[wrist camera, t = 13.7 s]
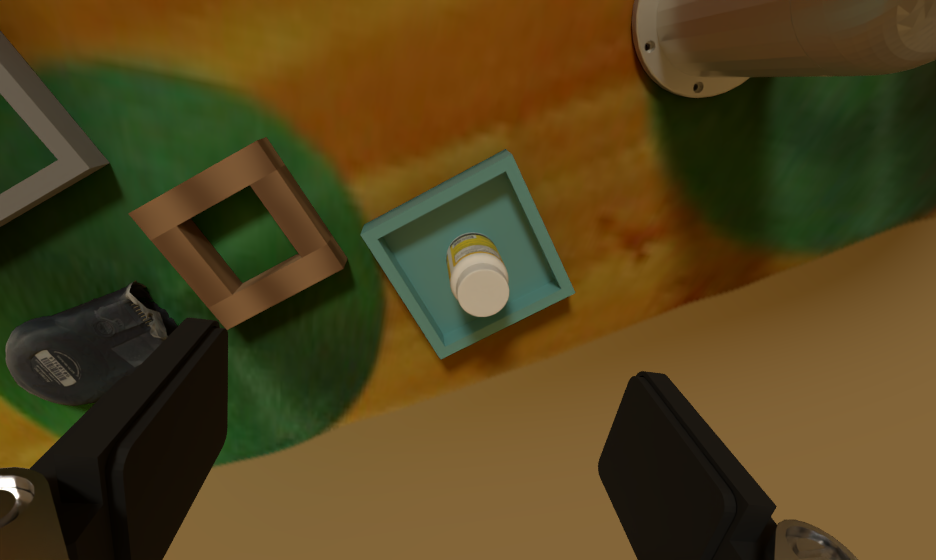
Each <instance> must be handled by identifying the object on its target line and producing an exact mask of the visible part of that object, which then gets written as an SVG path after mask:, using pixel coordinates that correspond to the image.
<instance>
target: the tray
mask: <svg viewBox="0 0 936 560" xmlns="http://www.w3.org/2000/svg"><path fill="white" fill-rule="evenodd" d="M471 232H474V233H480V234H483V235H485V236H487V237H488V238H489V239H491V240H492V242H493V243H494V245H495V246H496V248H497V250H498V252H499V255H500V257H501V259H502V261H503V263H504V265H505V267H506V269H507V272H508V279H509V280H508V286H509V298H508V301H507V303H506V304H505V306H504V307H503V308H502V309H501V310H500V311H499V312H497V313H496V314H494V315H491V316H487V317H477V316H473V315H471V314H469V313H467V312H466V311H465V310H464V309H463V308H462V307H461V306H460V304H459V301H458V300H457V299H456V298H455V296H454V295H453V293H452V291H451V287H450V280H449V274H448V269H447V263H446V254H447V250H448V248H449V246H450V244H451V243H452V241H453V240H454V239H456V238H457V237H458V236H460V235H462V234H465V233H471ZM361 236H362V238H363V239H364V241H365V242H366V244H367V246H368V247H369V249H370V250H371V252H372V253H373V255H374V256H375V258H376V260H377V261H378V263H379V264H380V266H381V267H382V269H383V271H384V272H385V274H386V275H387V277H388V278H389V280H390V281H391V283H392V285H393V286H394V288H395V289H396V291H397V292H398V294H399V295H400V297H401V299H402V300H403V302H404V303H405V305H406V306H407V308H408V310H409V311H410V313H411V314H412V316H413V317H414V319H415V320H416V322H417V324H418V325H419V327H420V328H421V330H422V331H423V333H424V334H425V336H426V338H427V339H428V341H429V342H430V344H431V345H432V347H433V349H434V350H435V352H436V353H437V355H438V356H439V358H440V359H443V358H445V357H447V356H449V355H451V354H453V353H455V352H457V351H459V350H461V349H463V348H465V347H467V346H469V345H471V344H473V343H475V342H477V341H479V340H481V339H483V338H485V337H487V336H489V335H491V334H493V333H495V332H497V331H499V330H501V329H503V328H505V327H508V326H510V325H512V324H514V323H516V322H518V321H520V320H522V319H524V318H526V317H528V316H530V315H532V314H534V313H536V312H538V311H540V310H542V309H544V308H546V307H548V306H550V305H552V304H554V303H556V302H558V301H560V300H562V299H564V298H566V297H568V296H570V295H572V294H574V293H575V291H574V289H573V287H572V284H571V282H570V280H569V278H568V276H567V273H566V271H565V269H564V267H563V265H562V263H561V260H560V258H559V256H558V254H557V252H556V249H555V247H554V245H553V243H552V241H551V239H550V236H549V234H548V232H547V230H546V228H545V226H544V223H543V221H542V219H541V217H540V215H539V212H538V210H537V208H536V206H535V204H534V202H533V199H532V197H531V195H530V193H529V191H528V188H527V186H526V184H525V182H524V180H523V178H522V175H521V173H520V171H519V169H518V167H517V164H516V162H515V160H514V158H513V156H512V154H511V153H510V152H508V151H507V150H506V149H505V150H503V151H501V152H499V153H497V154H496V155H494V156H492V157H490V158H488V159H486V160H484V161H482V162H481V163H479V164H477V165H475V166H473V167H471V168H469V169H467V170H466V171H464V172H462V173H460V174H458V175H456V176H454V177H453V178H451V179H449V180H447V181H445V182H443V183H441V184H439V185H438V186H436V187H434V188H432V189H430V190H428V191H426V192H424V193H423V194H421V195H419V196H417V197H415V198H413V199H411V200H409V201H408V202H406V203H404V204H402V205H400V206H398V207H396V208H395V209H393V210H391V211H389V212H387V213H385V214H383V215H381V216H380V217H378V218H376V219H374V220H372V221H370V222H368V223H366V224H365V225H364V227H363V230H362V232H361Z"/></svg>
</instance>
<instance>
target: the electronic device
mask: <svg viewBox="0 0 936 560" xmlns="http://www.w3.org/2000/svg"><path fill="white" fill-rule="evenodd" d="M145 287H146V286H144V285H143V284H140V283H137V281H134V282H133V283H131V284H129V285H128V286H127V287H125V288H122V289H120V290H118V291H116V292H113V293H111V294H107V295H105V296H103V297H100V298H97V299H93V300H91V301H89V302H87V303H84V304H81V305H79V306H76V307H74V308H71V309H68V310H66V311H63V312H60V313H58V314H55V315H53V316H47V317H41V318H35V319H32V320H29V321H27V322H25V323H23V324H22V325H20V326H18V327H16V328H15V330H13V331H12V333H11V335H10V338H9V340H8V342H7V344H6V364H7V366H8V368H9V371H10V373H11V375H12V376H13V378H14V379H15V381H16V383H17V384H18V385H19V386H21V387H22V388H23V389H25V390H26V391H28V392H29V393H31V394H34V395H36V396H38V397H40V398H42V399H44V400H48V401H51V402H54V403H58V404H63V405H72V406H75V405H82V404H88V403H94V402H97V401H98V400H99V399H100V398H101V397H102V396H103V395H104V394H105V393H106V392H107V391H108V390H109V389H110V388H111V387H112V386H113V385H114V384H115V383H116V382H117V381H118V380H119V379H121V378H122V377H123V376H126V375H131V374H132V373H133V372H134V371H135V370H136V369H137V368H138V367H139V366H140V365H141V364H142V363H143V362H144V361H145V360H146V359H147V358H148V357H149V356H150V355H151V354H152V353H153V352H154V351H155V350H156V348H157V347H158V346H159V345H160V344H161V343H162V342H163V341H164V340H165V339H166V338H167V337H168V336H169V335H170V334H171V333H172V332H173V331H174V330H175V329H176V328H177V327H178V326H177V325H176V323H175V321H174V319H172V318H169V315H168V313H167V311H166V310H165V309H161V308H160V307H159V306H158V305H157V304H156V303H155V302H149V301H148V300H147V299H146V298H148V299H151V300H152V298H151V297H150V295H149V293H148V292H146V291H145V290H144V289H143V288H145ZM143 297H146V298H145V301H144V302H146V303H140V302H139V301H138V300H137V298H143Z"/></svg>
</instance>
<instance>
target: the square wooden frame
mask: <svg viewBox="0 0 936 560" xmlns="http://www.w3.org/2000/svg"><path fill="white" fill-rule="evenodd" d="M249 185H250V186H251V187H252V189H253V190H254V192H255V193H256V194H257V196H258V197H259V199H260V200H261V201H262V203H263V204H264V206H265V207H266V208H267V210H268V211H269V213H270V214H271V215H272V217H273V218H274V220H275V221H276V222H277V224H278V225H279V227H280V228H281V229H282V231H283V232H284V234H285V235H286V236H287V238H288V239H289V241H290V242H291V243H292V245H293V246H294V248H295V249H296V250H297V252H298V254H297V255H295V256H293V257H291V258H289V259H287V260H285V261H284V262H282V263H280V264H278V265H276V266H274V267H272V268H271V269H269V270H267V271H265V272H263V273H261V274H259V275H257V276H256V277H254V278H252V279H250V280H248V281H246V282H244V283H243V284H242V282H241V281H240V280H239V279H238V277H237V276H236V275H235V274H234V272H233V271H232V270H231V269H230V267H229V266H228V265H227V263H226V262H225V261H224V260H223V258H222V257H221V256H220V255H219V253H218V252H217V251H216V250H215V248H214V247H213V246H212V245H211V243H210V242H209V241H208V240H207V238H206V237H205V236H204V234H203V233H202V232H201V231H200V229H199V228H198V227H197V226H196V224H195V223H194V222H193V221H192V219H191V218H192V217H193V216H195V215H197V214H199V213H201V212H202V211H204V210H206V209H208V208H210V207H211V206H213V205H215V204H217V203H218V202H220V201H222V200H224V199H226V198H227V197H229V196H231V195H233V194H235V193H236V192H238V191H240V190H242V189H243V188H245V187H247V186H249ZM129 215H130V216H131V217H132V219H133V220H134V221H135V222H136V223H137V224H138V226H139V227H140V228H141V229H142V230H143V232H144V233H145V234H146V235H147V236H148V237H149V239H150V240H151V241H152V242H153V243H154V245H155V246H156V247H157V248H158V249H159V250H160V252H161V253H162V254H163V255H164V256H165V257H166V259H167V260H168V261H169V262H170V263H171V265H172V266H173V267H174V268H175V269H176V270H177V272H178V273H179V274H180V275H181V276H182V278H183V279H184V280H185V281H186V282H187V283H188V285H189V286H190V287H191V288H192V289H193V290H194V292H195V293H196V294H197V295H198V296H199V298H200V299H201V300H202V301H203V302H204V303H205V305H206V306H207V307H208V308H209V309H210V311H211V312H212V313H213V314H214V315H215V316H216V318H217V319H218V320H219V321H220V322H221V323H222V325H223V326H224V327H225V328H226V329H227V330H228V329H230V328H232V327H234V326H235V325H237V324H239V323H241V322H243V321H245V320H247V319H249V318H251V317H253V316H254V315H256V314H258V313H260V312H262V311H264V310H266V309H268V308H270V307H272V306H273V305H275V304H277V303H279V302H281V301H283V300H285V299H287V298H289V297H291V296H292V295H294V294H296V293H298V292H300V291H302V290H304V289H306V288H308V287H310V286H311V285H313V284H315V283H317V282H319V281H321V280H323V279H325V278H327V277H329V276H330V275H332V274H334V273H336V272H338V271H340V270H342V269H344V266H345V264H346V261H347V259H348V258H347V257H346V255H345V254H344V252H343V251H342V249H341V248H340V246H339V245H338V243H337V242H336V240H335V239H334V237H333V236H332V234H331V233H330V231H329V230H328V228H327V227H326V226H325V224H324V223H323V221H322V220H321V218H320V217H319V215H318V214H317V212H316V211H315V209H314V208H313V206H312V205H311V203H310V202H309V200H308V199H307V197H306V196H305V194H304V193H303V191H302V190H301V188H300V187H299V185H298V184H297V182H296V181H295V179H294V178H293V176H292V175H291V173H290V172H289V170H288V169H287V167H286V166H285V164H284V163H283V161H282V160H281V158H280V157H279V155H278V154H277V152H276V151H275V149H274V148H273V146H272V145H271V143H270V142H269V140H268V139H267V137H265V138H263V139H260V140H257V141H255V142H254V143H252V144H250V145H248V146H247V147H245V148H243V149H241V150H240V151H238V152H236V153H234V154H233V155H231V156H229V157H227V158H225V159H224V160H222V161H220V162H218V163H217V164H215V165H213V166H211V167H210V168H208V169H206V170H204V171H203V172H201V173H199V174H197V175H196V176H194V177H192V178H190V179H189V180H187V181H185V182H183V183H182V184H180V185H178V186H176V187H175V188H173V189H171V190H169V191H168V192H166V193H164V194H162V195H160V196H159V197H157V198H155V199H153V200H152V201H150V202H148V203H146V204H145V205H143V206H141V207H139V208H138V209H136V210H134V211H132V212H131V213H129Z"/></svg>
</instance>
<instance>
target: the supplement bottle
mask: <svg viewBox="0 0 936 560" xmlns="http://www.w3.org/2000/svg"><path fill="white" fill-rule="evenodd" d="M446 263H447V269H448V274H449V280H450V287H451V291H452V293H453V295H454V296H455V298H456V299H457V300H458V301H459V304H460V306H461V307H462V308H463V309H464V310H465V311H466V312H467V313H469V314H471V315H473V316H477V317H487V316H491V315H494V314H496V313H497V312H499V311H500V310H501V309H502V308H503V307H504V306H505V304H506V303H507V301H508V298H509V286H508V280H509V279H508V272H507V269H506V267H505V265H504V263H503V261H502V259H501V257H500V255H499V252H498V250H497V248H496V246H495V245H494V243H493V242H492V240H491V239H489V238H488V237H487V236H485V235H483V234H480V233H474V232H471V233H465V234H462V235H460V236H458V237H457V238H456V239H454V240H453V241H452V243H451V244H450V246H449V248H448V250H447V254H446Z"/></svg>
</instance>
